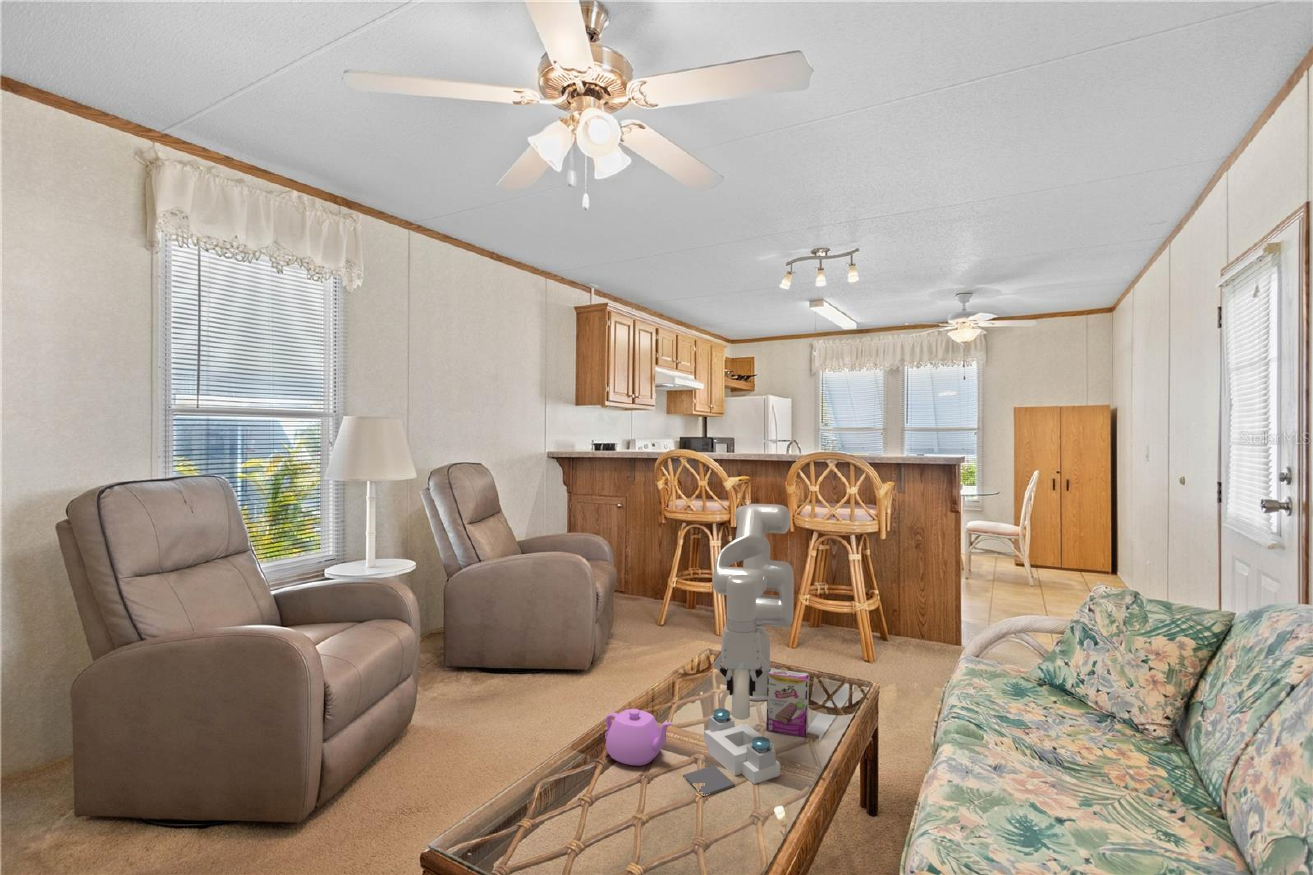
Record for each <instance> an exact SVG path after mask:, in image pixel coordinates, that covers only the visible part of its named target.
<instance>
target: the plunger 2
mask: <svg viewBox="0 0 1313 875" xmlns="http://www.w3.org/2000/svg"><path fill="white" fill-rule="evenodd" d="M770 741H771V740H770V739H769V738H768V737H765V736H764V737H760V736H759V737H754V738H753V739H752V746H753V747H754V748H755V751H757V752H758V753H759V754H761V753H764V752H767V749H769V748H770Z"/></svg>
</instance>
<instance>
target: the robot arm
mask: <svg viewBox="0 0 1313 875" xmlns="http://www.w3.org/2000/svg"><path fill="white" fill-rule="evenodd" d="M734 517H735V523H736V533H735V539H734V540H732V541H731V542H730V541H729V543H728V544H726V545H725V546H724V547H723V548H722V549H721V550H720V551H719V552H718V554H717V557H716V559H715V563H714V564H715V565H714V569H713V574H712V587H713V590H714V591H715V593H716V594H719V595H723V596H726V625H725V626H724V627H723V630H722V636H721V646H720V647H721V648H720V649H721V650H720V653H719V655H718V656H717V657H716V659H715V660H714V661H713V663H712V667H713V668H714V669H716V670H717V671H718V672H720V673H721V675H722V676H723V677H724V678H725V679H726V691H729V696H732V671H733V669H737V668H738V666H739V665H740V663H743V665H744V666H745V669H748V670H750V701H755V702H758V701H767V682H768V672H769V670H770V668H771V638H770V635H769V633H768V632H767V630H766V628H765V627H766V626H767V627H774V628H777V627H778V628H788V627H790V626H791V625H792V624H793V620H794V599H795V598H794V593H795V592H794V584H795V582H794V581H795V579H794V569H793V566H792V565H791V563H789V562H787V561H783V560H772V559H771V544H770V542H769V540H768V538H767V537H766V536H767V534H766V533H768V534H787V532H788V531H789V530H790V527H791V514H790V510H789V508H788V507H787V506H785V505H782V504H776V503H774V504H772V503H771V504H770V503H748V504H744V505H741V506H739V507H736V510H735V513H734ZM741 561H743V565H742V566H743V567H741V566H731V565H733V564H735V563H738V562H741ZM765 591H770V592H771V591H772V592H777V593H778V594H779V595H775V594H764V592H765Z"/></svg>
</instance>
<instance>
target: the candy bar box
mask: <svg viewBox="0 0 1313 875" xmlns="http://www.w3.org/2000/svg"><path fill="white" fill-rule="evenodd" d="M809 691H810V673H807V672H799V671H794V670H792V671H791V670H786V669H779V668H773V667H770V670H769V672H768V682H767V700H766V732H767V731H768V732H773V733H778V734H783V735H790V736H794V737H795V736H796V737H801V738H807V734H808V731H809V702H810V701H809V699H810V698H809V696H810V695H809V693H810V692H809Z"/></svg>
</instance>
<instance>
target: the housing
mask: <svg viewBox="0 0 1313 875" xmlns="http://www.w3.org/2000/svg"><path fill="white" fill-rule="evenodd" d="M735 724H736V722H735V720H734V719H733V718H732V717H731V716H730V717H729V718H728V719H727V721H726V722H723V723H719V722H718V721H716V718H715V717H714V716H713V715H712V716H708V729H707V730H703V742H704V743H705V744H706V745H707V753H708V755H710V756H711V757H712V758H714V759H715V760H716V761H717V762H718V763H719V764H721V765H722V767H724V768H725V769H726V770H727V771H729V772H730V774H732V775H733V776H734V777H736V776H739V775H743V777H744V778H746V779H747V780H748V781H750V783H752V784H753V785H757V784H758V783H762V782H765V781H768V780H770V779H774V778H776V777H779V776H781V762H779V761H778V760H777V758H776V757H777V756H776V754H777V753H776V752H777V751H776V750H775V749H774V748H775V747H774V743H773V742H772V741H771V740H770V748H769V749H767V752H764V753H761V754H759V753H758V752H757V751H755V748H754V747H753V746H752V739H753V738H754V737H759V736H760V737H765V736H764V735H762V734H761V733H760V732H758V731H757V730H756V729H754V728H752V727H751V726H750V725H749V724H747V723H746V722H745V723H741V724H738V725H735Z"/></svg>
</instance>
